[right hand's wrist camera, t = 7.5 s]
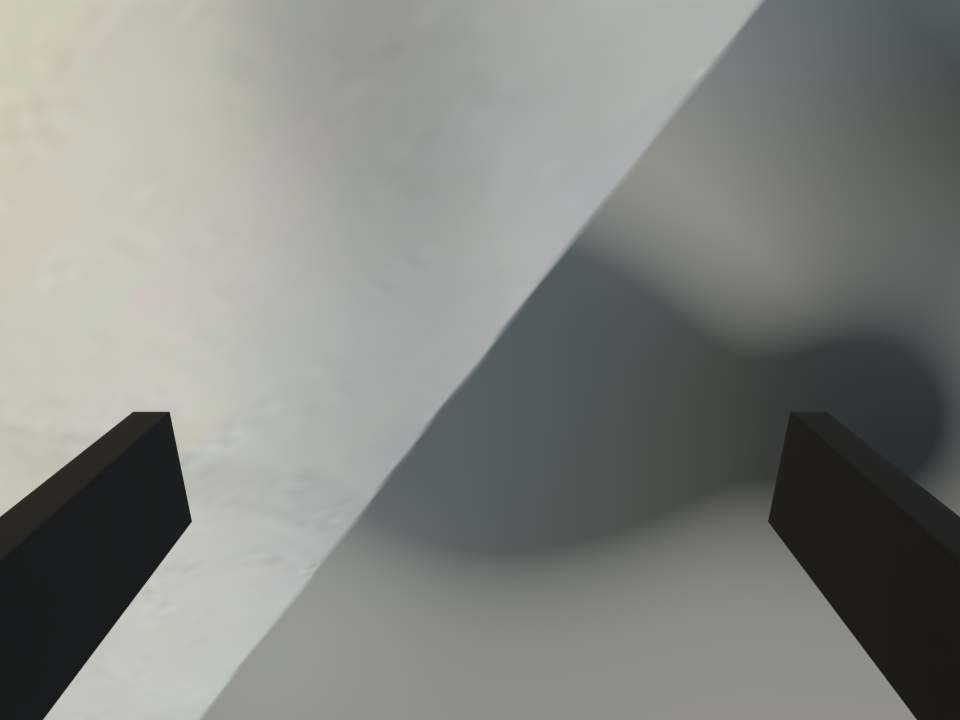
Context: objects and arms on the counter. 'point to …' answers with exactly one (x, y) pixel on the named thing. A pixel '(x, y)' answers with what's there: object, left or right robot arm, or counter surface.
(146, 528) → the right robot arm
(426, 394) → the counter surface
